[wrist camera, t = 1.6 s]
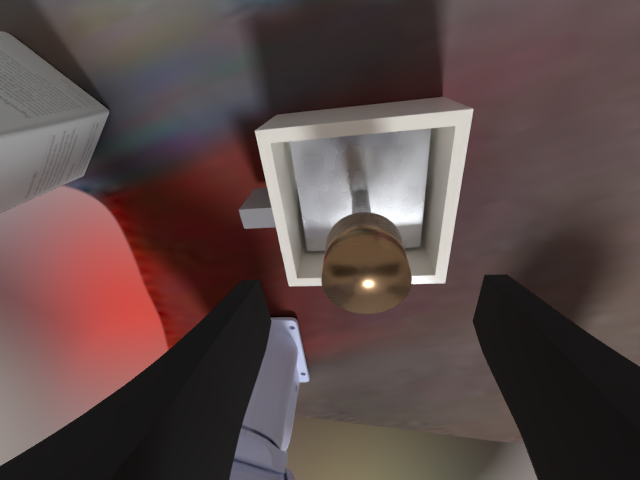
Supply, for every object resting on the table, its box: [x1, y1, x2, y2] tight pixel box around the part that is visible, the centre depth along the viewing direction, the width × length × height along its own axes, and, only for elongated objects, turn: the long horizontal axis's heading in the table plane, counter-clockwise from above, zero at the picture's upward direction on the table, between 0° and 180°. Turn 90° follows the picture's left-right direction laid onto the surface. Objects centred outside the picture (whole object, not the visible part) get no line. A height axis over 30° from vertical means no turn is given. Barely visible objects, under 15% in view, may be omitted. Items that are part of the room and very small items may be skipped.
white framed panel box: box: [239, 97, 473, 286], centre depth 16 cm, size 9×11×4 cm
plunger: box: [290, 128, 431, 314], centre depth 13 cm, size 7×7×8 cm
